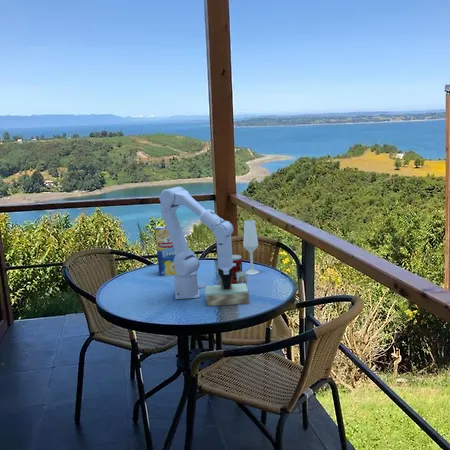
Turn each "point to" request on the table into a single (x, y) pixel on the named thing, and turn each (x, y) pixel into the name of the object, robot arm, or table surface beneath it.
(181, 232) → the robot arm
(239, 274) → the bolt keeper
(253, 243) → the champagne flute
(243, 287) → the lid
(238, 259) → the canned food
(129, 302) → the table surface
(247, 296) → the wooden tray
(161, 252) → the beverage box
